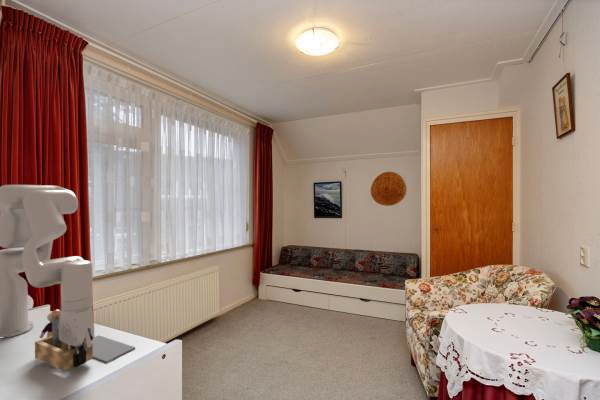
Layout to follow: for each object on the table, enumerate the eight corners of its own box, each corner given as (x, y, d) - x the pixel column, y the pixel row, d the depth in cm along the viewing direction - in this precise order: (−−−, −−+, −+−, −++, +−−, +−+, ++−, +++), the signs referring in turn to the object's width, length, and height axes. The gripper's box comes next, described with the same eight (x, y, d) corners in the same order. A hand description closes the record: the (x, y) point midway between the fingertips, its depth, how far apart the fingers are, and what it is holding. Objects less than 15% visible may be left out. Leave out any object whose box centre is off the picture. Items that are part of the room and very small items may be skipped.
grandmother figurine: (47, 355, 98) (46, 316, 98) (38, 353, 99) (37, 315, 99) (69, 343, 106) (69, 307, 105) (60, 342, 106) (60, 306, 106)
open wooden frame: (35, 357, 93) (34, 341, 93) (63, 346, 100) (62, 331, 100) (64, 371, 86) (64, 354, 86) (92, 358, 93) (92, 342, 93)
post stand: (48, 362, 94) (47, 310, 93) (59, 357, 97) (58, 307, 96) (54, 365, 93) (53, 312, 92) (65, 360, 95) (64, 308, 95)
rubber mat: (69, 348, 102) (69, 347, 102) (98, 336, 111) (98, 335, 111) (106, 363, 94) (106, 361, 94) (135, 348, 102) (135, 347, 102)
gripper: (47, 302, 89) (48, 364, 90) (79, 312, 83) (79, 378, 83) (75, 295, 96) (76, 352, 97) (106, 303, 89) (107, 364, 90)
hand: (78, 363), depth 90 cm, fingers closed on open wooden frame, 1 cm apart
